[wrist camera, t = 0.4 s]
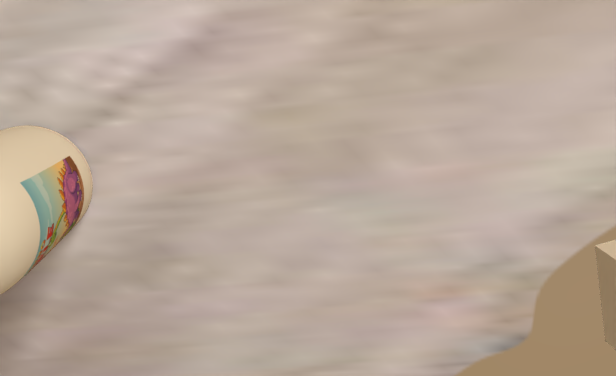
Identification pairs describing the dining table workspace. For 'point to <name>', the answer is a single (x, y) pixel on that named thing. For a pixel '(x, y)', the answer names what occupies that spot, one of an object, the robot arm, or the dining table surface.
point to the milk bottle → (37, 196)
